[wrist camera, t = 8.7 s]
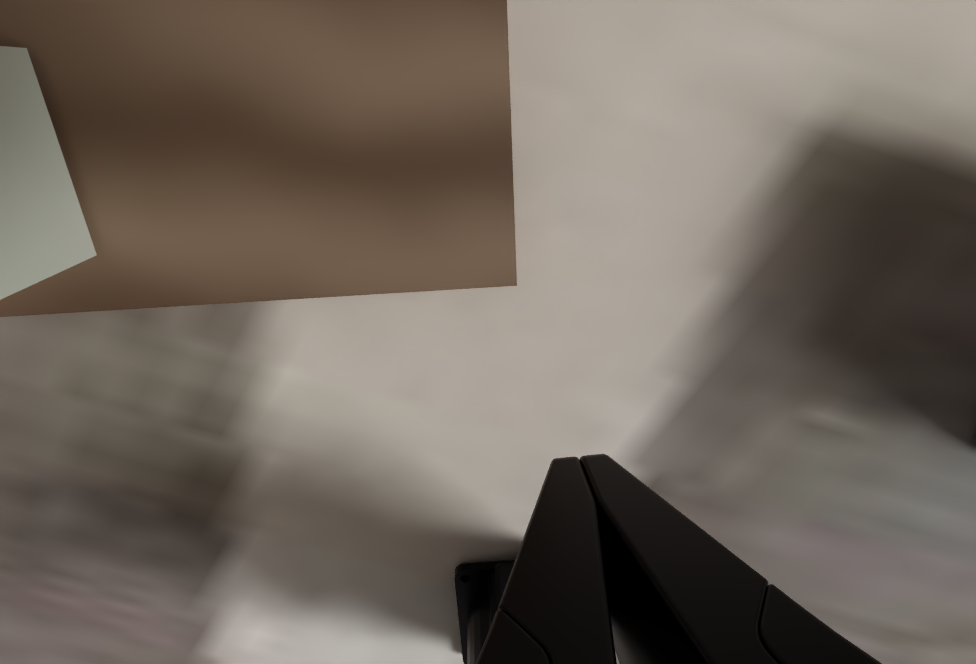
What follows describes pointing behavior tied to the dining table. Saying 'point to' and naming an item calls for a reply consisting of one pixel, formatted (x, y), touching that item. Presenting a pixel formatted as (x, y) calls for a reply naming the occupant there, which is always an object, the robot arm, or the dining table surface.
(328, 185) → the brown boxy piece
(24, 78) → the pale sage green cube
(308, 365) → the dining table surface
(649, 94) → the dining table surface
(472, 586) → the robot arm
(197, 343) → the dining table surface
